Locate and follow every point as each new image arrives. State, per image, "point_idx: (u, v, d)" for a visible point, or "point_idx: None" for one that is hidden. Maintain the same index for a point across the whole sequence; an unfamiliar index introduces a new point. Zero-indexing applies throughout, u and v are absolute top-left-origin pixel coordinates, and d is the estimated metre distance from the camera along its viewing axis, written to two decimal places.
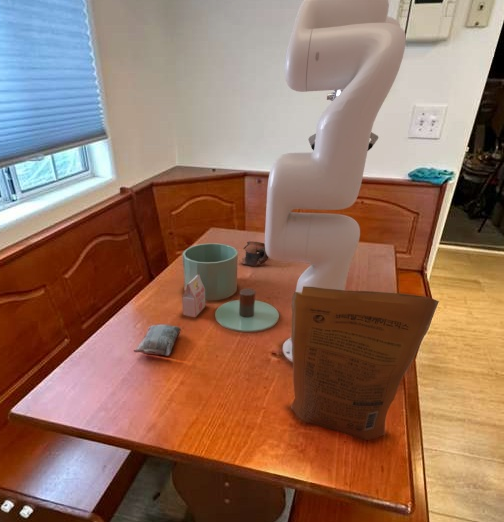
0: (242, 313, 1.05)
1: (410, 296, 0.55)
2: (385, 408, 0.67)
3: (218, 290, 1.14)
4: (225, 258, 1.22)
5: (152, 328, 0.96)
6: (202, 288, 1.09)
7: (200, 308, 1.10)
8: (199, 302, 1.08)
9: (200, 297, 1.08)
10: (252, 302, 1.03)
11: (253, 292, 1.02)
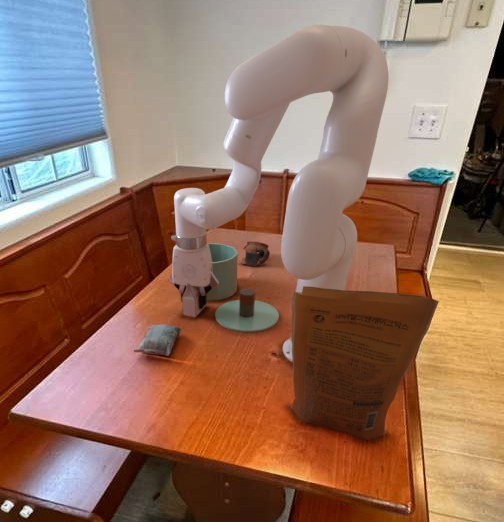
0: (242, 313, 1.05)
1: (410, 296, 0.55)
2: (385, 408, 0.67)
3: (218, 290, 1.14)
4: (225, 258, 1.22)
5: (152, 328, 0.96)
6: None
7: None
8: None
9: None
10: (252, 302, 1.03)
11: (253, 292, 1.02)
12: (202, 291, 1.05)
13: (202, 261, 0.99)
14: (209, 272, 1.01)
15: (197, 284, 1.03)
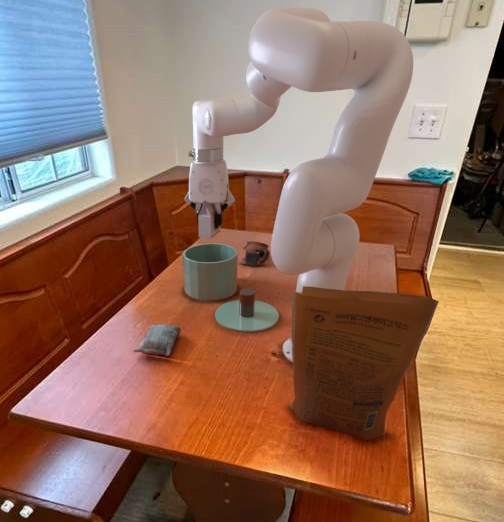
0: (242, 313, 1.05)
1: (410, 296, 0.55)
2: (385, 408, 0.67)
3: (218, 290, 1.14)
4: (225, 258, 1.22)
5: (152, 328, 0.96)
6: None
7: (215, 229, 1.11)
8: None
9: None
10: (252, 302, 1.03)
11: (253, 292, 1.02)
12: (218, 209, 1.07)
13: (219, 175, 1.01)
14: (226, 187, 1.03)
15: (213, 200, 1.05)
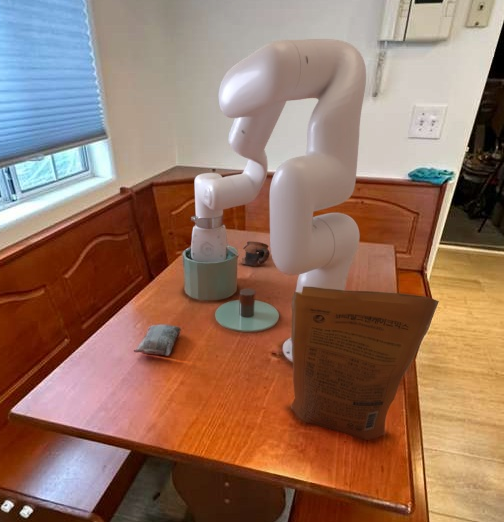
0: (242, 313, 1.05)
1: (410, 296, 0.55)
2: (385, 408, 0.67)
3: (218, 290, 1.14)
4: None
5: (152, 328, 0.96)
6: None
7: None
8: None
9: None
10: (252, 302, 1.03)
11: (253, 292, 1.02)
12: None
13: (219, 239, 1.10)
14: (225, 250, 1.12)
15: (214, 261, 1.14)
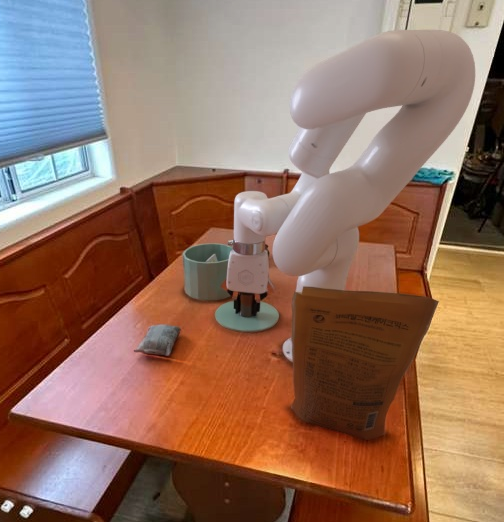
0: (242, 313, 1.05)
1: (410, 296, 0.55)
2: (385, 408, 0.67)
3: (218, 290, 1.14)
4: (225, 258, 1.22)
5: (152, 328, 0.96)
6: None
7: None
8: None
9: None
10: (252, 302, 1.03)
11: None
12: (257, 298, 1.01)
13: (260, 267, 0.95)
14: (267, 278, 0.97)
15: (253, 291, 0.99)
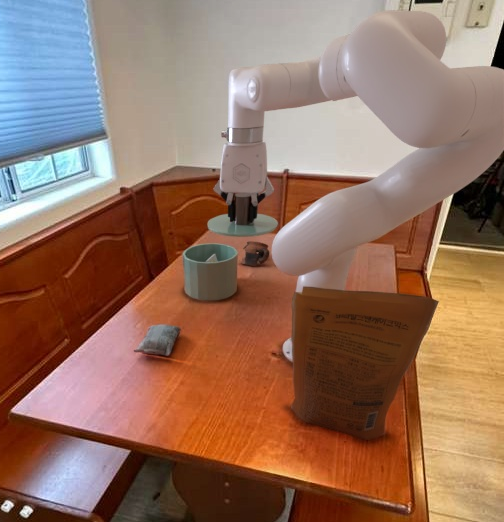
0: (237, 220, 0.95)
1: (410, 296, 0.55)
2: (385, 408, 0.67)
3: (218, 290, 1.14)
4: (225, 258, 1.22)
5: (152, 328, 0.96)
6: None
7: None
8: None
9: None
10: (248, 206, 0.93)
11: (249, 195, 0.92)
12: (254, 200, 0.91)
13: (258, 159, 0.85)
14: (265, 174, 0.87)
15: (250, 190, 0.89)
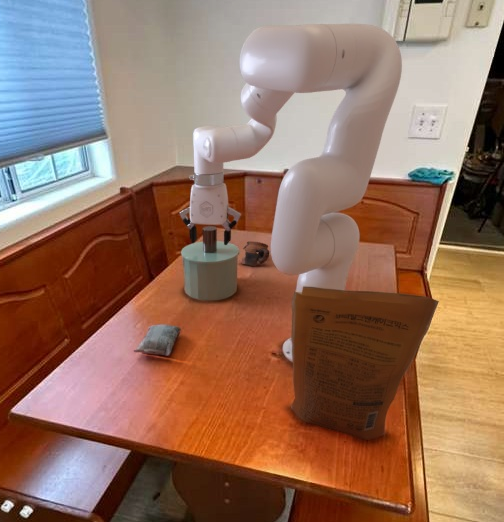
0: (205, 249, 1.14)
1: (410, 296, 0.55)
2: (385, 408, 0.67)
3: (218, 290, 1.14)
4: None
5: (152, 328, 0.96)
6: None
7: None
8: None
9: None
10: (214, 238, 1.12)
11: (215, 228, 1.12)
12: (227, 226, 1.09)
13: (219, 198, 1.04)
14: (226, 210, 1.06)
15: (214, 222, 1.08)
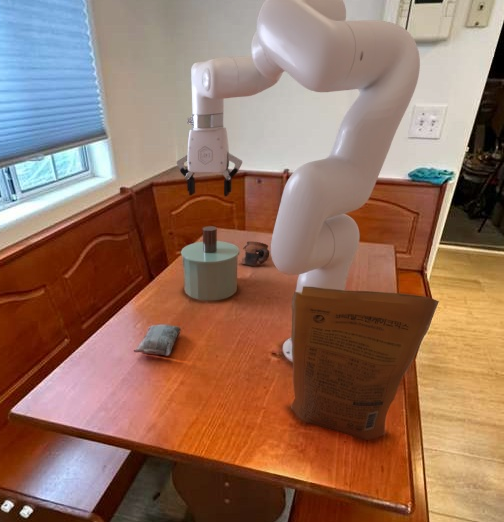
0: (205, 249, 1.14)
1: (410, 296, 0.55)
2: (385, 408, 0.67)
3: (218, 290, 1.14)
4: None
5: (152, 328, 0.96)
6: None
7: None
8: None
9: None
10: (214, 238, 1.12)
11: (215, 228, 1.12)
12: (227, 175, 1.02)
13: (219, 142, 0.97)
14: (226, 155, 0.99)
15: (213, 170, 1.01)
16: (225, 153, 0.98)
